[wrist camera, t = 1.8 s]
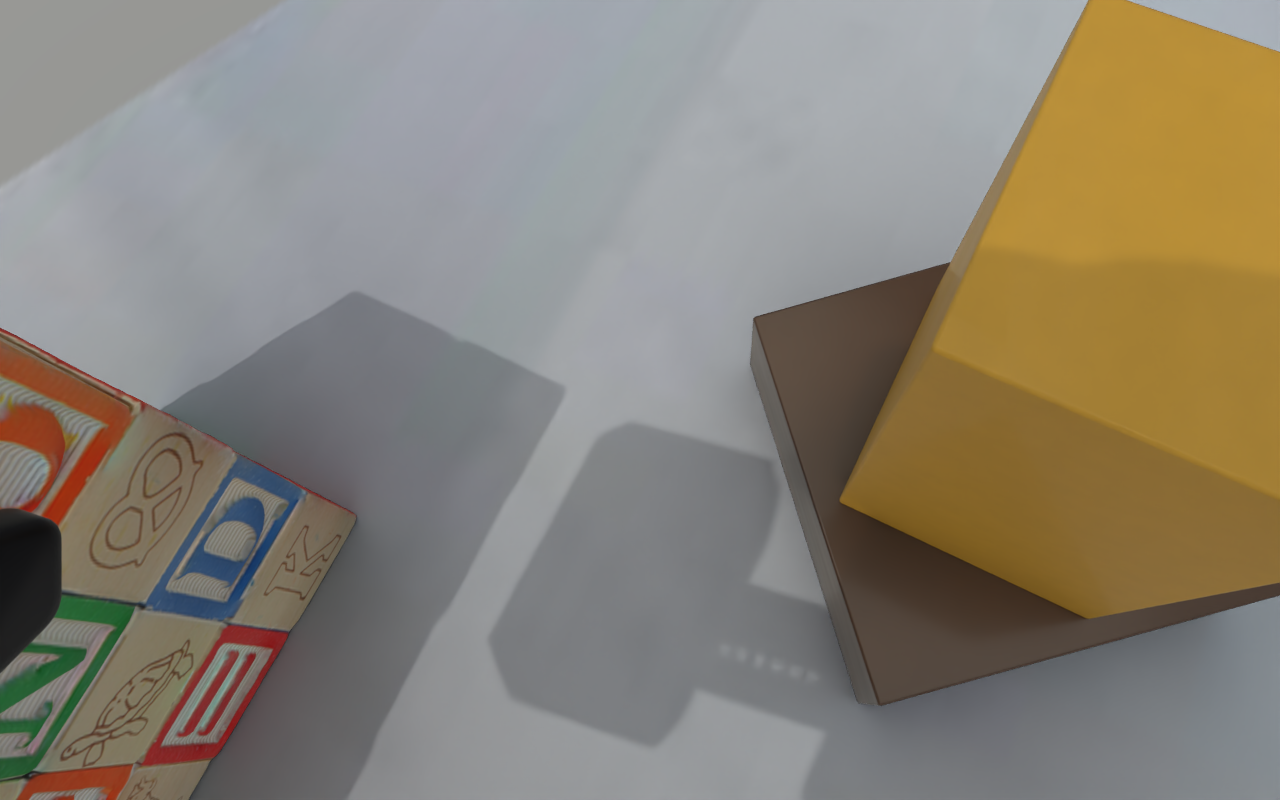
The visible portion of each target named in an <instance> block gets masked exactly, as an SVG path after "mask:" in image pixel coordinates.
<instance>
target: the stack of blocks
mask: <svg viewBox="0 0 1280 800" xmlns="http://www.w3.org/2000/svg"><path fill="white" fill-rule="evenodd" d="M5 508H17V509H21V510H25V511H28V512H31V513H34V514H37V515H39V516H42V517H45V518H48V519H50V520H52V521H53V522H55V523H56V524H57V525H58V527H59V530H60V532H61V537H62V597H61V602H60V606H59V609H58V611H57V613H56V615H55V616H54V618H53V619H52V621H51V622H50V624H49V625H48V626H47V627H46V628H45V629H44V630H43V631H42V632H41V633H40V634H39V635H38V636H37V637H36V638H35V639H34V640H33V641H32V642H31V643H30V644H29V645H28V646H27V647H26V648H25V649H24V650H23V651H22V652H21V653H20V654H19V655H18V656H17V657H16V658H15V659H14V660H13V661H12V662H11V663H10V664H9V665H8V666H7V667H6V668H5V669H4V670H3V671H2V672H1V673H0V800H188V799H189V797H190V796H191V794H192V792H193V791H194V789H195V787H196V786H197V784H198V782H199V781H200V779H201V777H202V775H203V774H204V772H205V770H206V769H207V766H208V764H209V762H210V761H211V759H212V758H214V757H215V756H216V755H217V754H218V753H219V752H220V751H221V749H222V748H223V746H224V744H225V743H226V741H227V739H228V738H229V736H230V734H231V733H232V731H233V730H234V728H235V726H236V725H237V723H238V721H239V719H240V718H241V716H242V714H243V713H244V711H245V709H246V707H247V706H248V704H249V702H250V701H251V699H252V697H253V696H254V694H255V692H256V690H257V689H258V687H259V685H260V683H261V682H262V680H263V678H264V676H265V675H266V673H267V672H268V670H269V668H270V667H271V665H272V663H273V662H274V660H275V658H276V657H277V655H278V653H279V651H280V650H281V648H282V646H283V645H284V643H285V641H286V639H287V637H288V634H289V631H290V630H291V629H292V627H293V626H294V625H295V624H296V622H297V621H298V620H299V619H300V617H301V615H302V614H303V612H304V610H305V609H306V607H307V605H308V604H309V602H310V600H311V599H312V597H313V595H314V593H315V592H316V590H317V588H318V587H319V585H320V583H321V581H322V580H323V578H324V576H325V574H326V573H327V571H328V569H329V568H330V566H331V564H332V563H333V561H334V559H335V557H336V556H337V554H338V552H339V551H340V549H341V547H342V545H343V544H344V542H345V540H346V538H347V537H348V535H349V533H350V531H351V529H352V528H353V526H354V524H355V520H356V515H355V514H354V513H353V512H351V511H349V510H347V509H345V508H343V507H341V506H339V505H337V504H335V503H333V502H331V501H330V500H328V499H326V498H324V497H322V496H320V495H318V494H316V493H314V492H312V491H310V490H308V489H306V488H305V487H303V486H301V485H299V484H297V483H295V482H293V481H291V480H289V479H288V478H286V477H284V476H282V475H280V474H278V473H276V472H274V471H272V470H270V469H268V468H266V467H264V466H263V465H261V464H259V463H256V462H254V461H252V460H250V459H248V458H246V457H245V456H243V455H241V454H239V453H237V452H235V451H233V449H232V448H231V447H229V446H228V445H226V444H224V443H222V442H220V441H218V440H217V439H215V438H214V437H212V436H210V435H208V434H205V433H203V432H201V431H198V430H197V429H195V428H193V427H192V426H190V425H188V424H186V423H184V422H182V421H180V420H178V419H176V418H175V417H173V416H171V415H170V414H167V413H165V412H163V411H160V410H158V409H156V408H154V407H152V406H151V405H149V404H147V403H145V402H143V401H141V400H139V399H137V398H135V397H133V396H131V395H128V394H126V393H125V392H123V391H121V390H119V389H117V388H114V387H112V386H110V385H109V384H107V383H105V382H103V381H101V380H99V379H96V378H94V377H92V376H91V375H89V374H87V373H85V372H83V371H81V370H79V369H77V368H75V367H73V366H72V365H70V364H68V363H66V362H64V361H62V360H60V359H59V358H57V357H55V356H53V355H52V354H50V353H48V352H46V351H44V350H42V349H40V348H38V347H36V346H35V345H33V344H30V343H29V342H27V341H25V340H23V339H21V338H20V337H18V336H16V335H14V334H12V333H10V332H8V331H6V330H4V329H1V328H0V509H5Z"/></svg>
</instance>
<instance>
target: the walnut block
mask: <svg viewBox="0 0 1280 800" xmlns="http://www.w3.org/2000/svg"><path fill="white" fill-rule="evenodd" d="M950 263H951V262H949V263H946V264H942V265H939V266H935V267H931V268H928V269H924V270H921V271H917V272H914V273H910V274H906V275H903V276H899V277H896V278H892V279H889V280H885V281H881V282H878V283H874V284H871V285H867V286H864V287H860V288H856V289H853V290H849V291H846V292H842V293H839V294H835V295H831V296H828V297H824V298H821V299H817V300H814V301H810V302H806V303H803V304H799V305H796V306H792V307H789V308H785V309H781V310H778V311H774V312H771V313H767V314H764V315H760V316H756V317H754V318H753V331H752V345H751V359H750V365H751V368H752V371H753V375H754V378H755V381H756V384H757V387H758V390H759V394H760V397H761V400H762V403H763V406H764V409H765V412H766V416H767V419H768V422H769V425H770V428H771V431H772V434H773V438H774V441H775V444H776V447H777V450H778V453H779V457H780V460H781V463H782V466H783V469H784V472H785V475H786V479H787V482H788V485H789V488H790V491H791V494H792V497H793V501H794V504H795V507H796V510H797V513H798V516H799V520H800V523H801V526H802V529H803V532H804V535H805V538H806V542H807V545H808V548H809V551H810V554H811V557H812V560H813V564H814V567H815V570H816V573H817V576H818V579H819V583H820V586H821V589H822V592H823V595H824V598H825V601H826V605H827V608H828V611H829V614H830V617H831V620H832V623H833V627H834V630H835V633H836V636H837V639H838V642H839V646H840V649H841V652H842V655H843V658H844V661H845V664H846V668H847V671H848V674H849V677H850V680H851V683H852V686H853V690H854V693H855V696H856V699H857V702H858V703H861V704H870V705H878V706H883V705H886V704H890V703H893V702H897V701H901V700H904V699H908V698H911V697H915V696H919V695H922V694H926V693H930V692H933V691H937V690H940V689H944V688H948V687H951V686H955V685H958V684H962V683H966V682H969V681H973V680H976V679H980V678H984V677H987V676H991V675H994V674H998V673H1002V672H1005V671H1009V670H1013V669H1016V668H1020V667H1023V666H1027V665H1031V664H1034V663H1038V662H1041V661H1045V660H1049V659H1052V658H1056V657H1059V656H1063V655H1067V654H1070V653H1074V652H1078V651H1081V650H1085V649H1088V648H1092V647H1096V646H1099V645H1103V644H1106V643H1110V642H1114V641H1117V640H1121V639H1124V638H1128V637H1132V636H1135V635H1139V634H1142V633H1146V632H1150V631H1153V630H1157V629H1161V628H1164V627H1168V626H1171V625H1175V624H1179V623H1182V622H1186V621H1189V620H1193V619H1197V618H1200V617H1204V616H1207V615H1211V614H1215V613H1218V612H1222V611H1225V610H1229V609H1233V608H1236V607H1240V606H1244V605H1247V604H1251V603H1254V602H1258V601H1262V600H1265V599H1269V598H1272V597H1276V596H1280V583H1275V584H1270V585H1265V586H1259V587H1254V588H1249V589H1244V590H1238V591H1233V592H1228V593H1222V594H1217V595H1212V596H1207V597H1201V598H1196V599H1191V600H1186V601H1180V602H1175V603H1170V604H1165V605H1159V606H1154V607H1149V608H1144V609H1138V610H1133V611H1128V612H1123V613H1117V614H1112V615H1107V616H1101V617H1096V618H1091V619H1087V618H1084V617H1082V616H1080V615H1078V614H1076V613H1074V612H1072V611H1070V610H1067V609H1065V608H1063V607H1061V606H1059V605H1057V604H1055V603H1053V602H1050V601H1048V600H1046V599H1044V598H1042V597H1040V596H1038V595H1036V594H1033V593H1031V592H1029V591H1027V590H1025V589H1023V588H1021V587H1019V586H1016V585H1014V584H1012V583H1010V582H1008V581H1006V580H1004V579H1002V578H999V577H997V576H995V575H993V574H991V573H989V572H987V571H985V570H982V569H980V568H978V567H976V566H974V565H972V564H970V563H968V562H966V561H963V560H961V559H959V558H957V557H955V556H953V555H951V554H949V553H946V552H944V551H942V550H940V549H938V548H936V547H934V546H932V545H929V544H927V543H925V542H923V541H921V540H919V539H917V538H915V537H912V536H910V535H908V534H906V533H904V532H902V531H900V530H898V529H895V528H893V527H891V526H889V525H887V524H885V523H883V522H881V521H878V520H876V519H874V518H872V517H870V516H868V515H866V514H864V513H862V512H859V511H857V510H855V509H853V508H851V507H849V506H847V505H845V504H842V503H841V502H840V497H841V494H842V492H843V490H844V488H845V486H846V484H847V482H848V479H849V477H850V475H851V473H852V471H853V469H854V466H855V464H856V462H857V460H858V458H859V456H860V453H861V451H862V449H863V447H864V445H865V443H866V441H867V438H868V436H869V434H870V432H871V430H872V428H873V425H874V423H875V421H876V419H877V417H878V415H879V412H880V410H881V408H882V406H883V404H884V402H885V399H886V397H887V395H888V393H889V391H890V389H891V387H892V384H893V382H894V380H895V378H896V376H897V374H898V371H899V369H900V367H901V365H902V363H903V361H904V358H905V356H906V354H907V352H908V350H909V348H910V346H911V343H912V341H913V339H914V337H915V335H916V333H917V330H918V328H919V326H920V324H921V322H922V320H923V317H924V315H925V313H926V311H927V309H928V307H929V305H930V302H931V300H932V298H933V296H934V294H935V292H936V289H937V287H938V285H939V284H940V282H941V280H942V278H943V276H944V274H945V272H946V270H947V268H948V266H949V265H950Z"/></svg>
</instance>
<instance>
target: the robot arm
mask: <svg viewBox="0 0 1280 800" xmlns="http://www.w3.org/2000/svg"><path fill="white" fill-rule="evenodd" d="M61 597H62V537H61V532H60V530H59V527H58V525H57V524H56V523H55V522H53V521H52V520H50V519H48V518H45V517H42V516H39V515H37V514H34V513H31V512H28V511H25V510H21V509H17V508H5V509H0V673H1V672H2V671H3V670H4V669H5V668H6V667H7V666H8V665H9V664H10V663H11V662H12V661H13V660H14V659H15V658H16V657H17V656H18V655H19V654H20V653H21V652H22V651H23V650H24V649H25V648H26V647H27V646H28V645H29V644H30V643H31V642H32V641H33V640H34V639H35V638H36V637H37V636H38V635H39V634H40V633H41V632H42V631H43V630H44V629H45V628H46V627H47V626H48V625H49V624H50V622H51V621H52V619H53V618H54V616H55V615H56V613H57V611H58V609H59V606H60V602H61Z"/></svg>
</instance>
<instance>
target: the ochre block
mask: <svg viewBox="0 0 1280 800" xmlns="http://www.w3.org/2000/svg"><path fill="white" fill-rule="evenodd" d="M840 502H841V503H842V504H845V505H847V506H849V507H851V508H853V509H855V510H857V511H859V512H862V513H864V514H866V515H868V516H870V517H872V518H874V519H876V520H878V521H881V522H883V523H885V524H887V525H889V526H891V527H893V528H895V529H898V530H900V531H902V532H904V533H906V534H908V535H910V536H912V537H915V538H917V539H919V540H921V541H923V542H925V543H927V544H929V545H932V546H934V547H936V548H938V549H940V550H942V551H944V552H946V553H949V554H951V555H953V556H955V557H957V558H959V559H961V560H963V561H966V562H968V563H970V564H972V565H974V566H976V567H978V568H980V569H982V570H985V571H987V572H989V573H991V574H993V575H995V576H997V577H999V578H1002V579H1004V580H1006V581H1008V582H1010V583H1012V584H1014V585H1016V586H1019V587H1021V588H1023V589H1025V590H1027V591H1029V592H1031V593H1033V594H1036V595H1038V596H1040V597H1042V598H1044V599H1046V600H1048V601H1050V602H1053V603H1055V604H1057V605H1059V606H1061V607H1063V608H1065V609H1067V610H1070V611H1072V612H1074V613H1076V614H1078V615H1080V616H1082V617H1084V618H1087V619H1091V618H1096V617H1101V616H1107V615H1112V614H1117V613H1123V612H1128V611H1133V610H1138V609H1144V608H1149V607H1154V606H1159V605H1165V604H1170V603H1175V602H1180V601H1186V600H1191V599H1196V598H1201V597H1207V596H1212V595H1217V594H1222V593H1228V592H1233V591H1238V590H1244V589H1249V588H1254V587H1259V586H1265V585H1270V584H1275V583H1280V52H1278V51H1275V50H1272V49H1269V48H1266V47H1263V46H1261V45H1258V44H1255V43H1252V42H1249V41H1246V40H1243V39H1240V38H1237V37H1234V36H1231V35H1228V34H1225V33H1222V32H1219V31H1216V30H1213V29H1210V28H1207V27H1204V26H1201V25H1198V24H1195V23H1192V22H1189V21H1186V20H1183V19H1180V18H1178V17H1175V16H1172V15H1169V14H1166V13H1163V12H1160V11H1157V10H1154V9H1151V8H1148V7H1145V6H1142V5H1139V4H1136V3H1133V2H1130V1H1127V0H1088V2H1087V4H1086V6H1085V8H1084V10H1083V12H1082V14H1081V16H1080V17H1079V19H1078V21H1077V23H1076V25H1075V27H1074V29H1073V31H1072V33H1071V35H1070V36H1069V38H1068V40H1067V42H1066V44H1065V46H1064V48H1063V50H1062V52H1061V54H1060V55H1059V57H1058V59H1057V61H1056V63H1055V65H1054V67H1053V69H1052V71H1051V73H1050V74H1049V76H1048V78H1047V80H1046V82H1045V84H1044V86H1043V88H1042V90H1041V92H1040V93H1039V95H1038V97H1037V99H1036V101H1035V103H1034V105H1033V107H1032V109H1031V111H1030V112H1029V114H1028V116H1027V118H1026V120H1025V122H1024V124H1023V126H1022V128H1021V130H1020V132H1019V133H1018V135H1017V137H1016V139H1015V141H1014V143H1013V145H1012V147H1011V149H1010V151H1009V152H1008V154H1007V156H1006V158H1005V160H1004V162H1003V164H1002V166H1001V168H1000V170H999V171H998V173H997V175H996V177H995V179H994V181H993V183H992V185H991V187H990V189H989V190H988V192H987V194H986V196H985V198H984V200H983V202H982V204H981V206H980V208H979V209H978V211H977V213H976V215H975V217H974V219H973V221H972V223H971V225H970V227H969V228H968V230H967V232H966V234H965V236H964V238H963V240H962V242H961V244H960V246H959V247H958V249H957V251H956V253H955V255H954V257H953V259H952V261H951V263H950V265H949V266H948V268H947V270H946V272H945V274H944V276H943V278H942V280H941V282H940V284H939V285H938V287H937V289H936V292H935V294H934V296H933V298H932V300H931V302H930V305H929V307H928V309H927V311H926V313H925V315H924V317H923V320H922V322H921V324H920V326H919V328H918V330H917V333H916V335H915V337H914V339H913V341H912V343H911V346H910V348H909V350H908V352H907V354H906V356H905V358H904V361H903V363H902V365H901V367H900V369H899V371H898V374H897V376H896V378H895V380H894V382H893V384H892V387H891V389H890V391H889V393H888V395H887V397H886V399H885V402H884V404H883V406H882V408H881V410H880V412H879V415H878V417H877V419H876V421H875V423H874V425H873V428H872V430H871V432H870V434H869V436H868V438H867V441H866V443H865V445H864V447H863V449H862V451H861V453H860V456H859V458H858V460H857V462H856V464H855V466H854V469H853V471H852V473H851V475H850V477H849V479H848V482H847V484H846V486H845V488H844V490H843V492H842V494H841V497H840Z"/></svg>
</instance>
